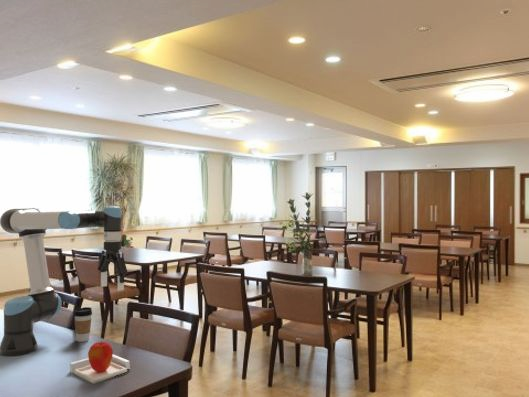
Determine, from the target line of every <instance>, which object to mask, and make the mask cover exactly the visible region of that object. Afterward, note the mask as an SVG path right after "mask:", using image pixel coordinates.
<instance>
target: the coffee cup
mask: <svg viewBox="0 0 529 397" xmlns="http://www.w3.org/2000/svg"><path fill="white" fill-rule="evenodd" d="M92 315H93V310H92V307H89V306H88V307H87V306H85V307H80V308H76V309H75V310H74V312H73V316H74V328H75V340H76V342H78V343H79V342H80V343H81V342H87V341H89V340H90V337H91V334H90V333H91V327H92Z"/></svg>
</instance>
